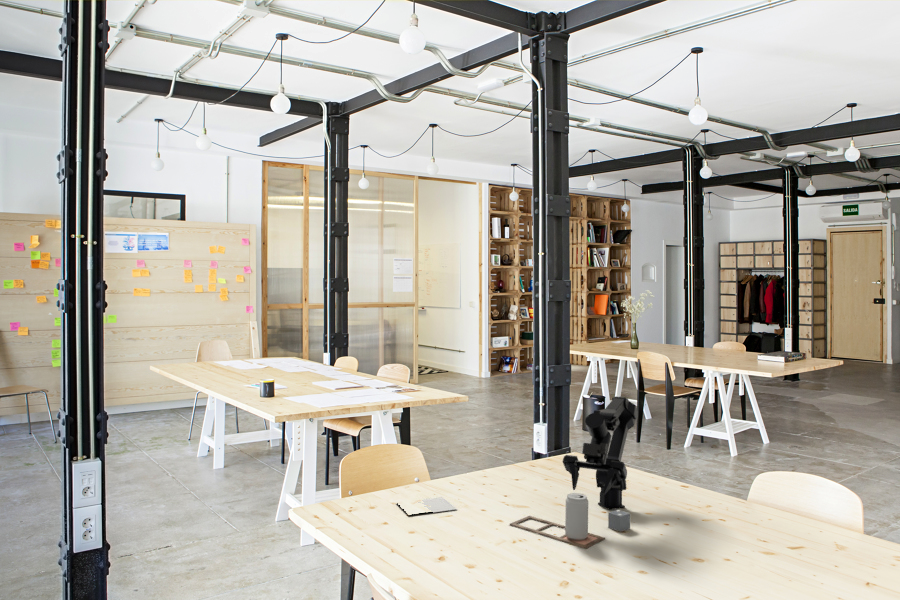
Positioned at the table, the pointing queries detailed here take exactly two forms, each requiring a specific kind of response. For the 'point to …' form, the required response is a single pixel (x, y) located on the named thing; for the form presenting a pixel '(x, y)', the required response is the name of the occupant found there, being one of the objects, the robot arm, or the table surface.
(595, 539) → the brown divided frame
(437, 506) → the paper stack
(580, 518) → the beverage can
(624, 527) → the grey cube
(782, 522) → the table surface
